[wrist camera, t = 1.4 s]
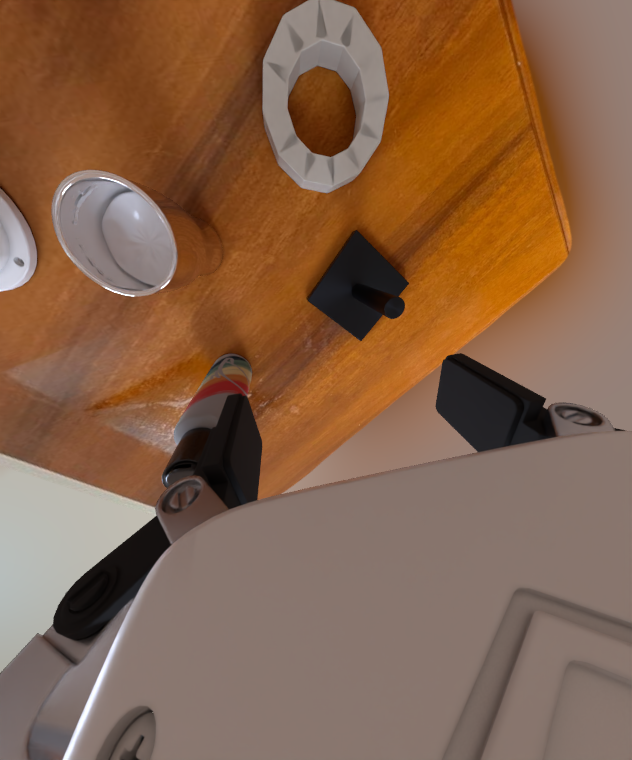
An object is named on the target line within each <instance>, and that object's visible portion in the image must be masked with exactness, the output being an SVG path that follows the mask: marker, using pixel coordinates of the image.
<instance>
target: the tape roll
mask: <svg viewBox="0 0 632 760" xmlns="http://www.w3.org/2000/svg"><path fill="white" fill-rule="evenodd" d="M315 66H320V67H324V68H327V69H330V70H334V71H337V73H338V74H339V75H340V77H341V78H342V79H343V81H344V82H345V83H346V85H347V86H348V87H349V89H350V90H351V94H352V99H353V103H354V108H355V112H356V121H355V128H354V135H353V141H352V143H351V144H350V146H349V147H348V149H346V150H344V151H342V152H340V153H338V154H336V155H334V156H332V157H328V156H324V155H319V154H315V153H312V152H311V151H310V150H309V149H308V148H307V147H306V146H305V145H304V144H303V143H302V141H301V140H300V139H299V138H298V137H297V136H296V133H295V130H294V127H293V124H292V121H291V118H290V115H289V112H288V97H289V95H290V93H291V91H292V89H293V87H294V85H295V83H296V81H297V79H298V77H299V75H301V74H303V73H305V72H306V71H308V70H310V69H312V68H314V67H315ZM388 100H389V92H388V86H387V80H386V74H385V68H384V62H383V55H382V49H381V46H380V45H379V43H378V42H377V40H376V39H375V37H374V35H373V34H372V32H371V31H370V29H369V28H368V26H367V25H366V23H365V22H364V20H363V19H362V17H361V16H360V14H359V12H358V11H357V9H356V8H355V7H352V6H349V5H346V4H344V3H341V2H338V1H335V0H308V1H306V2H304V3H303V4H301V5H299V6H298V7H296V8H294V9H292V10H291V11H289V12H287V13H285V14H284V15H283V17H282V19H281V21H280V23H279V25H278V28H277V30H276V32H275V34H274V37H273V39H272V41H271V43H270V46H269V48H268V50H267V52H266V54H265V57H264V59H263V104H262V112H263V120H264V127H265V131H266V133H267V136H268V139H269V141H270V144H271V147H272V149H273V152H274V155H275V157H276V160H277V163H278V165H279V166H280V167H281V168H282V169H283V170H284V171H285V172H286V173H287V174H288V175H289V176H290V177H291V178H292V179H293V180H294V181H295V182H296V183H297V184H298V185H299V186H300V187H301V188H304V189H309V190H314V191H319V192H324V193H329V192H331V191H333V190H335V189H337V188H339V187H341V186H343V185H345V184H347V183H349V182H351V181H353V180H354V179H355V178H356V177H357V176H358V175H359V174H360V173H361V171H362V170H363V168H364V166H365V165H366V163H367V162H368V160H369V159H370V157H371V156H372V154H373V153H374V151H375V149H376V148H377V146H378V145H379V143H380V141H381V137H382V132H383V126H384V121H385V116H386V110H387V105H388Z"/></svg>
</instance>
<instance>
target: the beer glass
mask: <svg viewBox="0 0 632 760" xmlns="http://www.w3.org/2000/svg"><path fill="white" fill-rule="evenodd" d="M52 221H53V225H54V229H55V232H56V235H57V237H58V240H59V242H60V244H61V245H62V247H63V249H64V251H65V252H66V254H67V255H68V256H69V258H70V259H71V260H72V262H73V263H74V264H75V265H76V266H77V267H78V268H79V269H80V270H81V271H82V272H83V273H84V274H85V275H86V276H88V277H89V278H90V279H92V280H93V281H94V282H96V283H97V284H99V285H101V286H103V287H104V288H106V289H109V290H111V291H113V292H116V293H119V294H123V295H128V296H147V295H151V294H159V293H166V292H170V291H174V290H178V289H180V288H183V287H185V286H187V285H189V284H190V283H192V282H193V281H194V280H195V279H197V278H198V277H199V276H206V275H210V274H212V273H214V272H215V271H216V270H217V269H218V268H219V267H220V265H221V263H222V259H223V247H222V243H221V240H220V238H219V236H218V234H217V233H216V231H215V230H214V229H213V228H212V227H211V226H210V225H209V224H208V223H207V222H205V221H203V220H202V219H199V218H197V217H193V216H190V215H189V214H188V213H187V212H186V211H185V210H184V209H183V208H182V207H181V206H180V205H178V204H177V203H176V202H174V201H173V200H171V199H170V198H168V197H167V196H165V195H163V194H162V193H160V192H158V191H156V190H154V189H152V188H149V187H147V186H145V185H142V184H140V183H137V182H134V181H131V180H128V179H125V178H123V177H121V176H118V175H116V174H113V173H110V172H106V171H101V170H83V171H79V172H76V173H73V174H71V175H69V176H68V177H66V178H65V179H64V180H63V181H62V182H61V183H60V184H59V186H58V187H57V189H56V191H55V193H54V196H53V200H52Z"/></svg>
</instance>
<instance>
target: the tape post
mask: <svg viewBox="0 0 632 760" xmlns="http://www.w3.org/2000/svg"><path fill="white" fill-rule="evenodd" d="M408 284H409V283H408V282H407V281H406V280H405V279H404V278H403V277H402V276H401V275H400V274H399V273H398V272H397V271H396V270H395V268H394V267H393V266H392V265H391V264H390V263H389V262H388V261H387V260H386V259H385V258H384V257H383V256H382V255H381V254H380V253H379V252H378V251H377V250H376V249H375V248H374V247H373V246H372V245H371V244H370V243H369V242H368V241H367V240H366V239H365V238H364V237H363V236H362V235H361V234H360V233H359V232H358V231H357V230H355V231H353V233H352V234H351V236H350V237H349V238H348V240H347V241H346V243H345V244H344V246H343V247H342V249H341V250H340V252H339V253H338V254H337V256H336V257H335V259H334V260H333V262H332V263H331V265H330V266H329V267H328V269H327V270H326V272H325V273H324V275H323V276H322V278H321V279H320V281H319V282H318V283H317V285H316V286H315V288H314V289H313V291H312V292H311V294H310V295H309V296H308V298H307V300H308V301H309V302H310V303H312V304H313V305H314V306H315V307H317V308H318V309H319V310H321V311H322V312H323V313H325V314H326V315H327V316H329V317H330V318H331V319H332V320H334V321H335V322H336V323H338V324H339V325H340V326H342V327H343V328H344V329H346V330H347V331H348V332H350V333H351V334H352V335H353V336H355V337H356V338H357V339H359V340H360V341H362V339H363V338H364V337H365V336H366V334H367V333H368V332H369V331H370V330H371V328H372V327H373V326H374V325H375V324H376V322H377V321H378V320H379V319H380V318H381V316H382V315H384V316H386V317H388V318H390V319H395V318H397V317H399V316H400V315H401V314H402V313H403V311H404V308H405V303H404V301H403V299H402V298H400V297H398V296H399V295H400V294H401V292H402V291H403V290H404V289H405V288H406V286H407V285H408Z"/></svg>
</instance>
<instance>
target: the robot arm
mask: <svg viewBox="0 0 632 760" xmlns="http://www.w3.org/2000/svg"><path fill="white" fill-rule="evenodd" d="M36 265H37V250H36V245H35V240H34V238H33V235H32V233H31V230H30V228H29V226H28V224H27V222H26V220H25V219H24V217H23V215H22V214H21V212H20V211H19V209H18V208H17V207H16V205H15V204H14V203H13V201H12V200H11V199H10V198H9V197H8V196H7V195H6V194H5V193H4V191H3V190H2V189H1V188H0V291H6V290H12V289H15V288H17V287H20V286H22V285H23V284H24V283H26V282H27V281H28V280H29V279H30V278H31V276H32V275H33V274H34V271H35V268H36ZM545 400H546V398H544V397H542V396H540V395H538V394H536V393H534V392H533V391H531V390H529V389H527V388H525V387H523V386H521V385H519V384H518V383H516V382H514V381H512V380H510V379H508V378H506V377H505V376H503V375H501V374H499V373H497V372H495V371H494V370H492V369H490V368H488V367H486V366H484V365H482V364H481V363H479V362H477V361H475V360H473V359H471V358H469V357H468V356H465V355H464V354H461V353H460V354H454V355H449V356H447V357H446V359H444V360H443V363H442V370H441V376H440V382H439V388H438V394H437V400H436V409H437V411H438V413H439V414H440V415H441V416H442V417H443V418H445V420H446V421H447V422H448V423H449V424H450V425H451V426H452V427H454V429H455V430H457V432H458V433H459V434H461V436H463V437H464V438H465V439H466V441H468V442H469V443H470V445H472V446H473V447H474V448H475V449H476V450H477V451H478V452H477V453H472V454H467V455H462V456H458V457H453V458H448V459H443V460H438V461H433V462H428V463H424V464H419V465H414V466H409V467H404V468H400V469H395V470H390V471H385V472H381V473H376V474H371V475H367V476H362V477H357V478H353V479H348V480H343V481H338V482H334V483H329V484H325V485H320V486H315V487H311V488H307V489H302V490H298V491H294V492H289V493H285V494H280V495H276V496H272V497H268V498H264V499H260V500H257V497H258V486H259V476H260V465H261V454H262V440H261V437H260V434H259V431H258V428H257V425H256V422H255V419H254V416H253V413H252V410H251V407H250V404H249V401H248V398H247V396H246V395H245V396H243V395H242V394H241V393H239V394H233V395H228V396H227V399H226V401H225V404H224V407H223V409H222V412H221V415H220V417H219V420H218V423H217V425H216V427H213V428H212V429H211V431H210V433H209V436H208V438H207V441H206V443H205V446H204V448H203V451H202V453H201V456H200V458H199V461H198V463H197V466H196V468H195V471H194V473H193V476H187V477H185V478H182V479H180V480H178V481H176V482H175V483H173V484H172V485H171V486H169V487H168V488H167V489H166V490H165V491H164V492H163V493H162V494H161V496H160V498H159V499H158V501H157V504H156V508H155V510H156V515H157V516H156V517H154V518H153V519H152V520H151V521H149V522H148V523H147V524H146V525H145V526H143V527H142V528H141V529H140V530H139V531H137V532H136V533H135V534H133V535H132V536H131V537H130V538H128V539H127V540H126V541H125V542H123V543H122V544H121V545H120V546H118V547H117V548H116V549H115V550H113V551H112V552H111V553H110V554H109V555H107V556H106V557H105V558H104V559H102V560H101V561H100V562H99V563H97V564H96V565H95V566H94V567H92V569H90V570H89V571H87V572H86V573H85V574H84V575H83V576H82V577H81V578H80V579H79V580H77V581H76V582H75V584H74V585H73V586H72V587H71V588H70V589H69V591H68V592H67V593H66V594H65V596H64V598H63V599H62V601H61V602H60V604H59V605H58V608H57V610H56V613H55V615H54V622H53V625H52V626H51V627H50V628H49V629H48V630H47V631H46V632H45V634H44V635H41V634H38V633H37V634H36V635H35V637H34V638H33V639H32V640H31V641H30V642H29V643H28V644H27V645H26V646H25V647H24V648H23V649H22V650H21V651H20V653H19V654H18V655H17V656H16V657H15V658H14V659H13V660H12V661H11V662H10V663H9V664H8V665H7V666H6V667H5V668H4V669H3V671H2V672H1V673H0V760H632V431H625V430H620V429H616V428H613V426H612V425H611V423H610V421H609V420H608V419H607V418H606V417H605V416H603V415H602V414H601V413H599V412H597V411H595V410H593V409H591V408H588V407H585V406H582V405H577V404H572V403H554V404H551V405H550V406H549V407H548V409H545V408H544V407H543V405H544V403H545ZM152 712H153V713H152Z"/></svg>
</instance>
